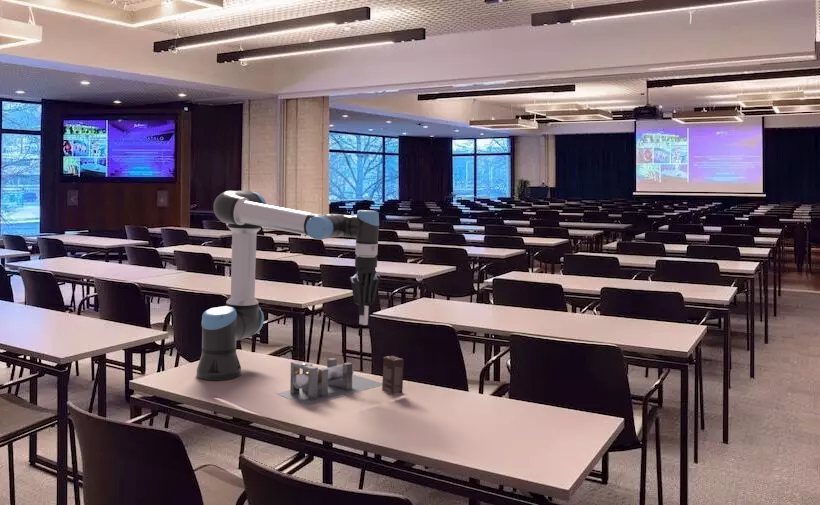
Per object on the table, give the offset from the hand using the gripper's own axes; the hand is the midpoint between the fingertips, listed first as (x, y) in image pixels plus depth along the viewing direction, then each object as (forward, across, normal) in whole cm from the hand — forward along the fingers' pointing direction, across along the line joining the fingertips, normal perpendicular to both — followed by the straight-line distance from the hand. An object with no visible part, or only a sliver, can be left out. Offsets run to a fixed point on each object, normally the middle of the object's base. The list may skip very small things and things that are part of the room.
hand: (363, 324), depth 234 cm
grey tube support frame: (+20, -11, -1) cm, 23 cm away
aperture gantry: (+20, -26, -1) cm, 33 cm away
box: (+21, -1, -16) cm, 26 cm away
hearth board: (+21, -14, -1) cm, 25 cm away
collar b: (+20, -21, -1) cm, 29 cm away
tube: (+17, -17, -1) cm, 24 cm away
